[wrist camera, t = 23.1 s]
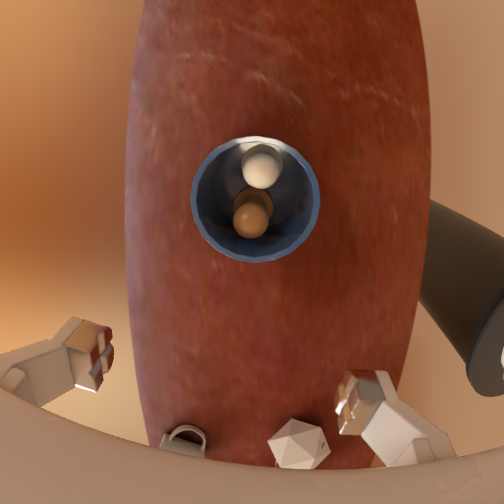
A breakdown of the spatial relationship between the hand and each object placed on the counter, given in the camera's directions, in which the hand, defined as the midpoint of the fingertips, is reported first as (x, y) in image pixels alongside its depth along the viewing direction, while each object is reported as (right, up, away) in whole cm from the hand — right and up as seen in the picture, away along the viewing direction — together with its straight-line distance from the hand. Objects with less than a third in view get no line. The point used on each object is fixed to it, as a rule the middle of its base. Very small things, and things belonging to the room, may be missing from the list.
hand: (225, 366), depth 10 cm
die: (+8, -25, +36) cm, 44 cm away
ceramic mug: (-11, -29, +38) cm, 49 cm away
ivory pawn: (+2, +13, +21) cm, 25 cm away
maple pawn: (+1, +9, +23) cm, 24 cm away
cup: (+1, +11, +23) cm, 25 cm away
